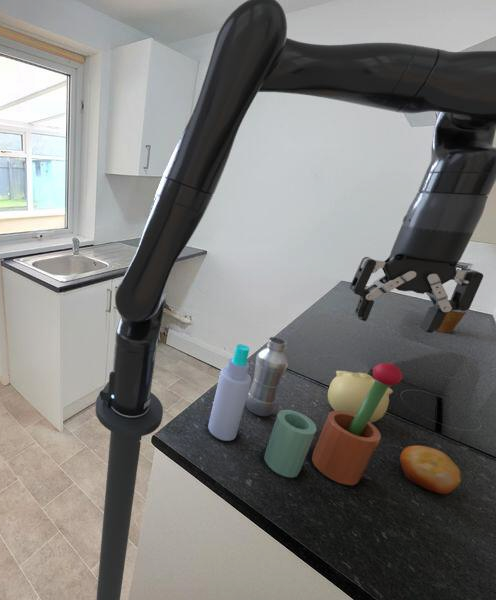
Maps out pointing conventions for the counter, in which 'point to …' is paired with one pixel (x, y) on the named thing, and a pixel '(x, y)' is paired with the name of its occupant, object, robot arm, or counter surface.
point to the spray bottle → (230, 396)
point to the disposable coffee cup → (451, 320)
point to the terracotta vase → (344, 448)
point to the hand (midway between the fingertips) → (392, 324)
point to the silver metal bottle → (267, 377)
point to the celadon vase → (289, 443)
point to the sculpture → (354, 393)
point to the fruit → (430, 469)
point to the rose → (375, 395)
